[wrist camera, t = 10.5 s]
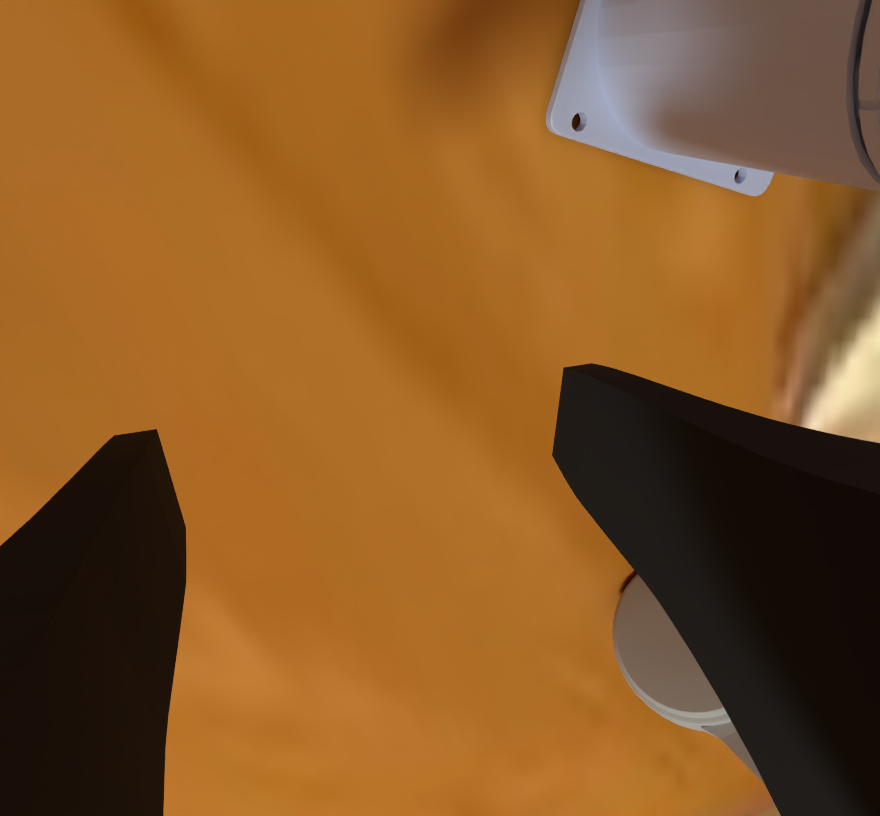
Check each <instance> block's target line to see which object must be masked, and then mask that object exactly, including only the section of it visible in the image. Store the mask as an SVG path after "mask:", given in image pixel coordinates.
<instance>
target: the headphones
mask: <svg viewBox="0 0 880 816" xmlns="http://www.w3.org/2000/svg"><path fill="white" fill-rule="evenodd" d="M613 644H614V650H615V654H616V659H617V662H618V664H619V667H620V669H621V672H622V674H623V675H624V677H625V679H626V681H627V683H628V684H629V685H630V687H631V688H632V689H633V691H634V692H635V693H636V694H637V695H638V696H639V697H640V698H641V699H642V700H643V701H644V702H645V703H646V704H647V705H648V706H649V707H650V708H651V709H653V710H654V711H655V712H657V713H658V714H660V715H661V716H663V717H664V718H666V719H668V720H670V721H672V722H674V723H676V724H678V725H680V726H684V727H687V728H690V729H693V730H699V731H704V732H707V733H709V734H711V735H713V736H715V737H718V738H720V739H721V740H722V741H723V742H724V743H725V744H726V745H727V746H728V747H729V748H730V749H731V750H732V751H733V752H734V753H735V754H736V755H737V756H738V757H739V758H740V759H741V760H742V761H743V762H744V763H745V764H746V765H747V766H748V767H749V769H750V770H751V771H752V772H753V773H754V774H755V775H756V776H757V777H758V778H759V779H760V780H761V781H762V782H763V783H764V781H763V779H762V777H761V775H760V773H759V771H758V769H757V767H756V765H755V763H754V761H753V760H752V758H751V756H750V754H749V752H748V751H747V749H746V747H745V745H744V743H743V741H742V740H741V738H740V736H739V734H738V732H737V731H736V729H735V727H734V725H733V723H732V722H731V720H730V718H729V716H728V714H727V712H726V711H725V709H724V707H723V705H722V703H721V702H720V700H719V698H718V696H717V695H716V693H715V691H714V690H713V688H712V686H711V685H710V683H709V681H708V680H707V678H706V676H705V675H704V673H703V671H702V670H701V668H700V666H699V665H698V663H697V661H696V660H695V658H694V656H693V655H692V653H691V651H690V650H689V648H688V646H687V645H686V643H685V642H684V640H683V639H682V637H681V636H680V634H679V632H678V631H677V629H676V628H675V626H674V625H673V623H672V622H671V620H670V618H669V617H668V615H667V614H666V612H665V611H664V609H663V608H662V606H661V605H660V603H659V602H658V600H657V599H656V598H655V596H654V595H653V593H652V592H651V591H650V589H649V588H648V587H647V585H646V584H645V583H644V581H643V580H642V579H641V578H640V576H639V575H638V574H636V575H635V576H634V577H633V578H632V579H631V581H630V582H629V584H628V585H627V586H626V588H625V589H624V591H623V593H622V595H621V597H620V599H619V602H618V605H617V608H616V610H615V616H614V621H613ZM764 784H765V783H764Z"/></svg>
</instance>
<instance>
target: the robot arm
mask: <svg viewBox="0 0 880 816" xmlns="http://www.w3.org/2000/svg"><path fill="white" fill-rule="evenodd" d="M577 113H578V114H579V116H580V124H579V126H578V128H576V129H575V130H574V129H573V128H572V119H573V117H574V115H576V114H577ZM546 125H547V127H548V129H549V131H550V132H552V133H553V134H555V135H559V136H562V137H565V138H568V139H571V140H574V141H578V142H581V143H584V144H587V145H590V146H593V147H597V148H600V149H603V150H606V151H609V152H612V153H616V154H619V155H622V156H625V157H628V158H631V159H635V160H638V161H641V162H644V163H647V164H650V165H654V166H657V167H660V168H663V169H666V170H669V171H673V172H676V173H679V174H682V175H685V176H688V177H692V178H695V179H698V180H701V181H704V182H708V183H711V184H714V185H717V186H720V187H723V188H727V189H730V190H733V191H736V192H739V193H742V194H746V195H750V196H758V195H760V194H762V193H763V192H764V191H765V190H766V189H767V187H768V185H769V183H770V181H771V179H772V177H773V175H774V173H779V174H785V175H790V176H796V177H801V178H807V179H812V180H818V181H823V182H829V183H834V184H840V185H845V186H851V187H856V188H862V189H867V190H873V191H878V192H880V0H580V3H579V7H578V10H577V13H576V17H575V20H574V23H573V27H572V30H571V33H570V36H569V40H568V43H567V46H566V50H565V53H564V56H563V60H562V63H561V66H560V70H559V73H558V76H557V79H556V83H555V86H554V89H553V93H552V96H551V99H550V103H549V106H548V109H547V113H546ZM738 170H739V173H738V176H737V178H736V179H735V180H734V177H735V174H736V172H737V171H738ZM552 456H553V458H554V459H555V461H556V463H557V465H558V467H559V469H560V470H561V472H562V474H563V476H564V478H565V479H566V481H567V483H568V484H569V486H570V488H571V489H572V491H573V492H574V494H575V496H576V497H577V498H578V500H579V501H580V502H581V504H582V505H583V506H584V508H585V509H586V510H587V511H588V513H589V514H590V515H591V516H592V518H593V519H594V520H595V522H596V523H597V524H598V525H599V527H600V528H601V529H602V530H603V532H604V533H605V534H606V535H607V537H608V538H609V539H610V540H611V542H612V543H613V544H614V545H615V546H616V548H617V549H618V550H619V551H620V553H621V554H622V555H623V556H624V558H625V559H626V560H627V561H628V563H629V564H630V565H631V566H632V568H633V569H634V570H635V571H636V573H637V574H638V575H639V576H640V578H641V579H642V580H643V581H644V583H645V584H646V585H647V587H648V588H649V589H650V591H651V592H652V593H653V595H654V596H655V598H656V599H657V600H658V602H659V603H660V605H661V606H662V608H663V609H664V611H665V612H666V614H667V615H668V617H669V618H670V620H671V622H672V623H673V625H674V626H675V628H676V629H677V631H678V632H679V634H680V636H681V637H682V639H683V640H684V642H685V643H686V645H687V646H688V648H689V650H690V651H691V653H692V655H693V656H694V658H695V660H696V661H697V663H698V665H699V666H700V668H701V670H702V671H703V673H704V675H705V676H706V678H707V680H708V681H709V683H710V685H711V686H712V688H713V690H714V691H715V693H716V695H717V696H718V698H719V700H720V702H721V703H722V705H723V707H724V709H725V711H726V712H727V714H728V716H729V718H730V720H731V722H732V723H733V725H734V727H735V729H736V731H737V732H738V734H739V736H740V738H741V740H742V741H743V743H744V745H745V747H746V749H747V751H748V752H749V754H750V756H751V758H752V760H753V761H754V763H755V765H756V767H757V769H758V771H759V773H760V775H761V777H762V779H763V781H764V783H765V785H766V787H767V789H768V791H769V793H770V795H771V797H772V799H773V801H774V803H775V805H776V807H777V809H778V811H779V813H780V815H781V816H880V443H875V442H870V441H864V440H859V439H854V438H849V437H843V436H838V435H834V434H829V433H825V432H821V431H817V430H812V429H808V428H804V427H800V426H795V425H791V424H787V423H783V422H779V421H776V420H772V419H768V418H765V417H761V416H758V415H754V414H751V413H748V412H744V411H741V410H738V409H734V408H731V407H728V406H725V405H722V404H718V403H715V402H712V401H709V400H706V399H703V398H700V397H697V396H694V395H691V394H688V393H685V392H682V391H680V390H677V389H674V388H671V387H668V386H665V385H662V384H659V383H656V382H653V381H650V380H648V379H645V378H642V377H639V376H636V375H633V374H630V373H626V372H623V371H620V370H617V369H613V368H610V367H606V366H602V365H597V364H592V363H591V364H585V365H578V366H572V367H565V368H564V369H563V377H562V384H561V392H560V400H559V407H558V415H557V423H556V430H555V438H554V446H553V453H552ZM185 587H186V527H185V523H184V520H183V516H182V513H181V510H180V506H179V503H178V500H177V496H176V493H175V489H174V486H173V483H172V479H171V476H170V472H169V469H168V466H167V462H166V459H165V456H164V452H163V449H162V445H161V442H160V439H159V435H158V432H157V429H155V430H148V431H141V432H135V433H128V434H122V435H115V436H113V437H112V438H111V439H110V440H109V441H108V442H107V443H106V444H104V445H103V446H102V447H101V448H100V449H99V450H98V451H97V452H96V454H95V455H94V456H93V457H92V458H91V459H90V460H89V461H88V462H87V463H86V464H85V465H84V466H83V467H82V468H81V469H80V470H79V471H78V472H77V473H76V474H75V475H74V476H73V477H72V478H71V479H70V480H69V481H68V482H67V483H66V484H65V485H64V486H63V487H62V488H61V489H60V490H59V491H58V492H57V493H56V494H55V495H54V496H53V497H52V498H51V499H50V500H49V501H48V502H47V503H46V504H45V505H44V506H43V507H42V508H41V509H40V510H39V511H38V512H37V513H36V514H35V515H34V516H33V517H32V518H31V519H30V520H29V521H27V522H26V523H25V524H24V525H23V526H22V527H21V528H20V529H19V530H18V531H16V532H15V533H14V534H13V535H12V536H11V537H10V538H9V539H8V540H7V541H5V542H4V543H3V544H2V545H1V546H0V816H163V805H164V772H165V745H166V734H167V723H168V713H169V706H170V699H171V691H172V684H173V677H174V670H175V662H176V655H177V648H178V640H179V633H180V626H181V618H182V611H183V603H184V595H185Z"/></svg>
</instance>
